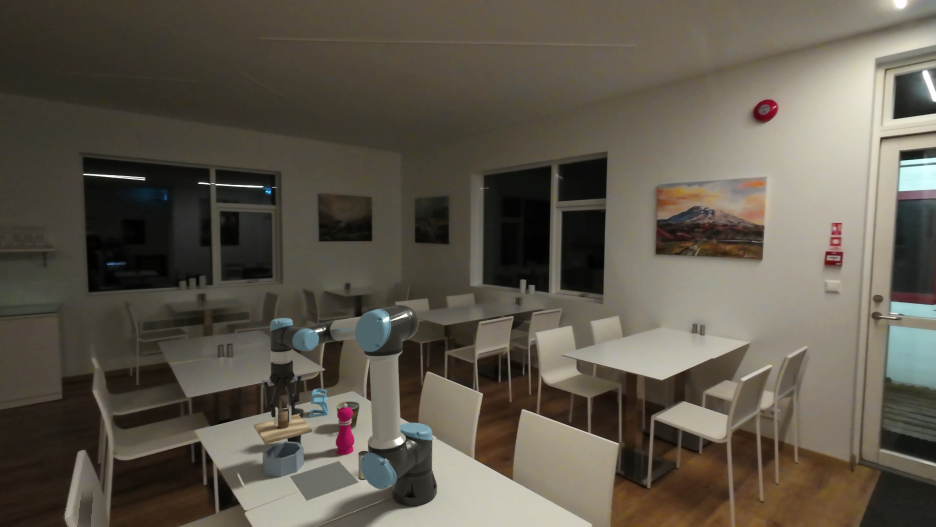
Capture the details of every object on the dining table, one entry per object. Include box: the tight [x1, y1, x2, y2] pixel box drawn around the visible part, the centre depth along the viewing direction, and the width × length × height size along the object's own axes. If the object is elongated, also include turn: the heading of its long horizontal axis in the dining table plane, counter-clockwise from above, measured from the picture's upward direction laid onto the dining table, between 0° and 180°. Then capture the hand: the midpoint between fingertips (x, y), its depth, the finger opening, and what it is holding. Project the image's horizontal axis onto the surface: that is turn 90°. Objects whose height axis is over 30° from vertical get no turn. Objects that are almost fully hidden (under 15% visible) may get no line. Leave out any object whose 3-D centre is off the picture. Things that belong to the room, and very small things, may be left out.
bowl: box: [262, 440, 305, 478], centre depth 166 cm, size 13×13×7 cm
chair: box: [308, 388, 330, 418], centre depth 215 cm, size 8×8×12 cm
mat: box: [289, 460, 359, 501], centre depth 159 cm, size 18×18×1 cm
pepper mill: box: [335, 403, 355, 456], centre depth 178 cm, size 7×7×20 cm
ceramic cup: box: [336, 400, 360, 430], centre depth 200 cm, size 13×10×10 cm
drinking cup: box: [286, 396, 305, 444], centre depth 185 cm, size 8×8×20 cm
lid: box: [253, 408, 313, 445], centre depth 165 cm, size 16×16×7 cm
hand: (282, 423), depth 165 cm, fingers closed on lid, 4 cm apart
